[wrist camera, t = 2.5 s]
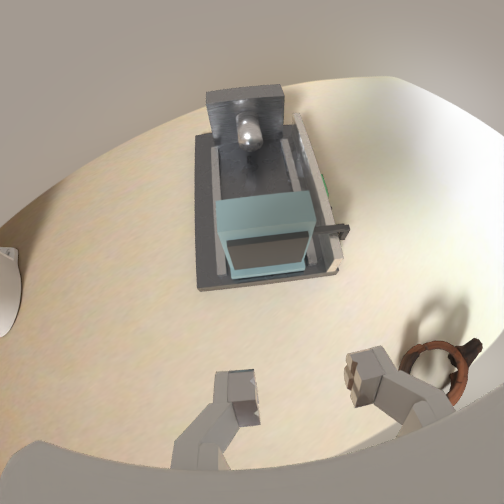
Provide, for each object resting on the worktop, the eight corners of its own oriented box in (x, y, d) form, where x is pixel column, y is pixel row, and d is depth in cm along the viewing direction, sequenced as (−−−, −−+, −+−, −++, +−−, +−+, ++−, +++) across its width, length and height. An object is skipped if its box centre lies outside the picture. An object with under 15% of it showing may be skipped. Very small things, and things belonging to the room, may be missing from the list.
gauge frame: (335, 274, 32) (360, 240, 23) (200, 291, 32) (175, 263, 23) (297, 131, 41) (301, 83, 32) (197, 142, 41) (184, 95, 32)
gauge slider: (344, 264, 30) (371, 226, 22) (231, 279, 30) (218, 243, 22) (334, 225, 32) (355, 178, 23) (228, 238, 32) (215, 191, 23)
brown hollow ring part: (418, 432, 24) (423, 434, 18) (382, 379, 31) (377, 367, 25) (486, 369, 23) (506, 353, 17) (447, 322, 30) (456, 296, 24)
